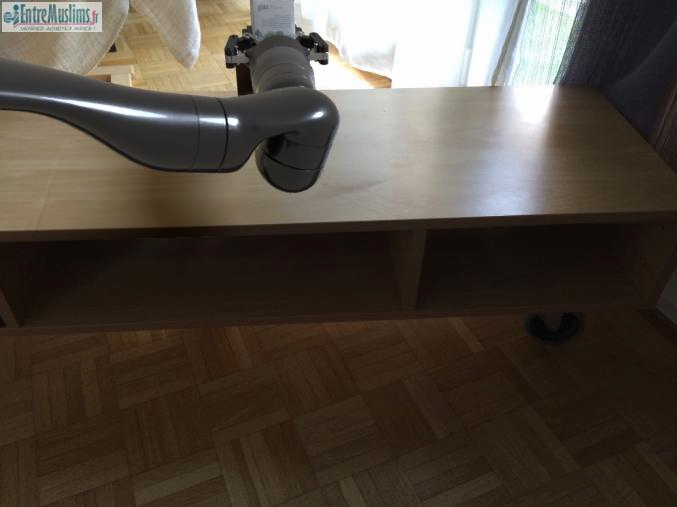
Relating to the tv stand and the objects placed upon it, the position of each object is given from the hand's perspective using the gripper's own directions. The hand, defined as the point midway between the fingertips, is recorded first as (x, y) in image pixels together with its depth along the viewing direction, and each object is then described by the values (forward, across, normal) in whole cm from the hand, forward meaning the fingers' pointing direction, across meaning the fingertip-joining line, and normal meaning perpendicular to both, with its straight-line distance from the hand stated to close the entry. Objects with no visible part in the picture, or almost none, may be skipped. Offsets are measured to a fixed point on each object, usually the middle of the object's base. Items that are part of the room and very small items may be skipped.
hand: (271, 31), depth 88 cm
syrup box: (-2, 0, -8) cm, 9 cm away
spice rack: (-2, 0, -13) cm, 13 cm away
